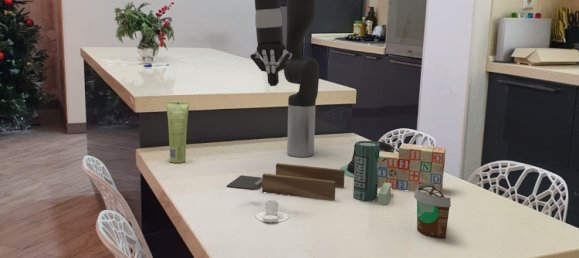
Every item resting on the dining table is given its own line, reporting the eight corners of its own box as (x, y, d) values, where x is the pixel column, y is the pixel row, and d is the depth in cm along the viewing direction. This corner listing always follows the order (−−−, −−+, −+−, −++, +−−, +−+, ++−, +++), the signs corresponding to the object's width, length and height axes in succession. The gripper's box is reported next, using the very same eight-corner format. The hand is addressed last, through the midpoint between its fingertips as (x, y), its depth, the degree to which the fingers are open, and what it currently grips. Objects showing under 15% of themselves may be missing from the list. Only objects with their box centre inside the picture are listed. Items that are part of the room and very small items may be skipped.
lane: (277, 179, 177) (277, 163, 176) (344, 186, 172) (344, 169, 171) (262, 192, 165) (262, 174, 164) (333, 200, 159) (334, 182, 158)
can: (381, 198, 162) (384, 144, 159) (365, 202, 158) (368, 147, 155) (364, 192, 167) (366, 139, 164) (349, 197, 163) (351, 142, 160)
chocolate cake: (417, 167, 191) (392, 184, 174) (369, 185, 201) (341, 203, 185) (397, 124, 192) (371, 137, 175) (350, 144, 202) (321, 158, 186)
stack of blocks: (364, 186, 173) (366, 144, 171) (368, 180, 179) (371, 139, 177) (440, 195, 166) (444, 152, 164) (442, 189, 172) (446, 147, 170)
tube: (182, 158, 198) (181, 99, 194) (190, 161, 195) (189, 101, 191) (166, 161, 195) (165, 101, 191) (174, 164, 191) (173, 103, 187)
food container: (405, 221, 145) (408, 181, 143) (430, 221, 146) (433, 181, 144) (420, 241, 133) (423, 198, 131) (447, 241, 134) (451, 198, 132)
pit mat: (241, 176, 180) (241, 171, 179) (270, 179, 177) (270, 174, 177) (226, 187, 169) (226, 181, 169) (257, 190, 167) (257, 185, 166)
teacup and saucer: (274, 227, 141) (275, 211, 140) (247, 220, 145) (247, 204, 144) (294, 217, 148) (294, 201, 147) (267, 210, 152) (267, 195, 151)
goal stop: (383, 193, 167) (384, 182, 166) (390, 193, 166) (391, 183, 166) (377, 204, 158) (378, 193, 157) (385, 205, 157) (386, 194, 156)
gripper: (295, 23, 172) (299, 83, 176) (254, 25, 177) (258, 83, 181) (285, 25, 165) (289, 88, 169) (242, 27, 171) (247, 88, 175)
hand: (273, 85), depth 175 cm, fingers closed
